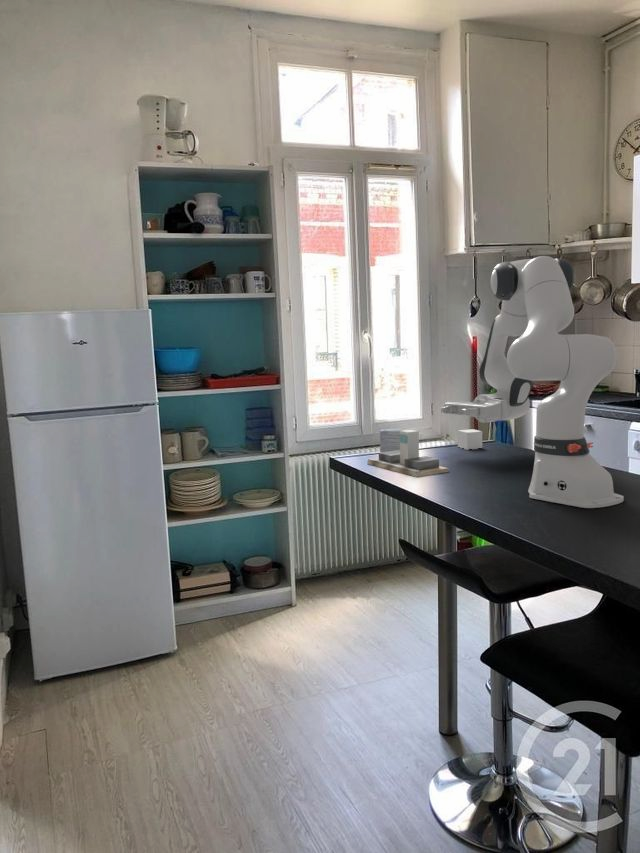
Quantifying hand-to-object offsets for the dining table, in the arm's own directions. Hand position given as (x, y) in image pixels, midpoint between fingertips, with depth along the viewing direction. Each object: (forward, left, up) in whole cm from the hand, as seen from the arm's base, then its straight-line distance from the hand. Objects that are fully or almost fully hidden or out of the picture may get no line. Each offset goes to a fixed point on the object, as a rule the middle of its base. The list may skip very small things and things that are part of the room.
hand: (452, 411), depth 213 cm
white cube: (+16, -22, -16) cm, 32 cm away
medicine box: (+20, +8, -16) cm, 27 cm away
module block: (+2, +15, -15) cm, 21 cm away
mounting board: (+2, +16, -16) cm, 23 cm away
